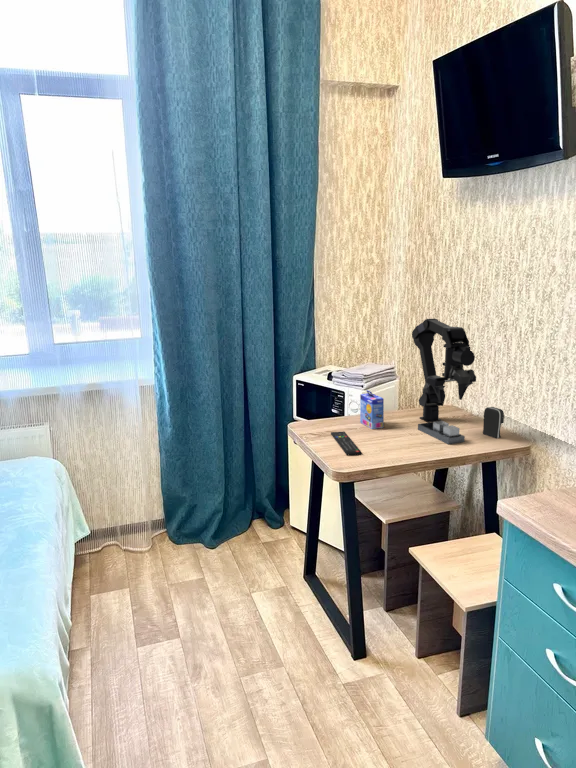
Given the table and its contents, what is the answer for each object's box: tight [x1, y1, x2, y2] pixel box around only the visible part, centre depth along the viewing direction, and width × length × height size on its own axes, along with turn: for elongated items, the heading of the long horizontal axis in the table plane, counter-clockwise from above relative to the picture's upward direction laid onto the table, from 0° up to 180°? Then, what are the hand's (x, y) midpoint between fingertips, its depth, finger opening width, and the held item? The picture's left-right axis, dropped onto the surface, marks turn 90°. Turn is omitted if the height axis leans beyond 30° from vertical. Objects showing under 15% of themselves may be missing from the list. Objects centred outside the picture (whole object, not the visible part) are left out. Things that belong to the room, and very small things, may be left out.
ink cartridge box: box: [359, 389, 385, 430], centre depth 229 cm, size 10×6×14 cm, turn 23°
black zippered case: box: [482, 406, 505, 439], centre depth 213 cm, size 7×4×11 cm, turn 30°
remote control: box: [330, 431, 362, 457], centre depth 209 cm, size 5×24×1 cm, turn 9°
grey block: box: [433, 420, 450, 433], centre depth 214 cm, size 4×4×5 cm
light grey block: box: [443, 424, 460, 438], centre depth 209 cm, size 4×4×5 cm
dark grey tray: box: [417, 422, 466, 446], centre depth 215 cm, size 19×7×3 cm, turn 22°
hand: (450, 400), depth 220 cm, fingers open, 9 cm apart
